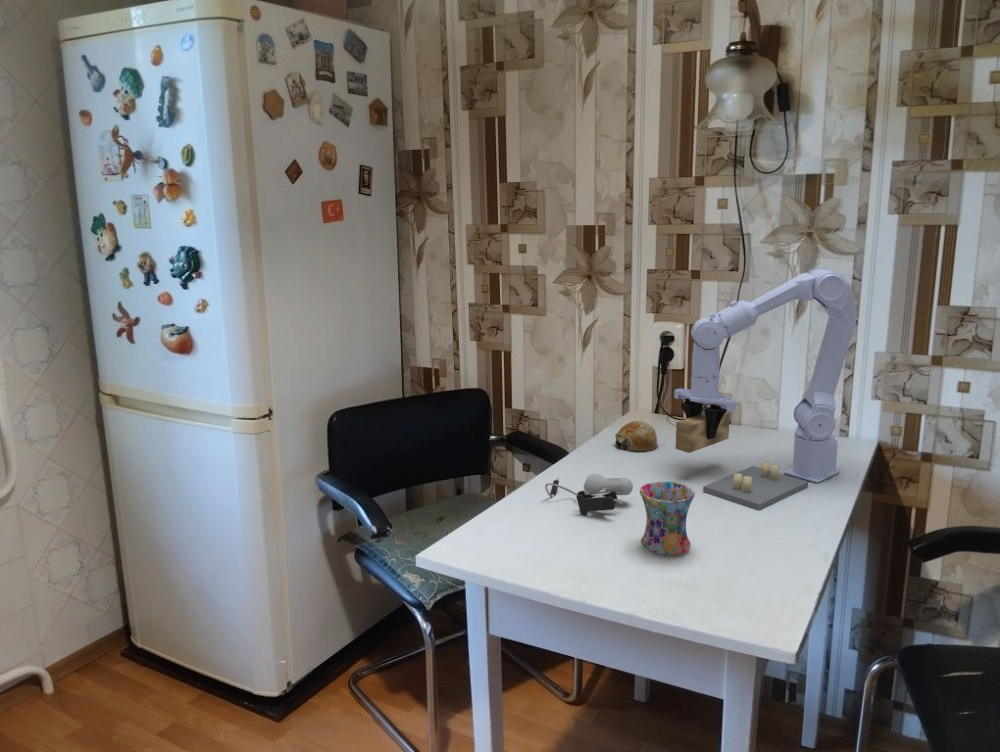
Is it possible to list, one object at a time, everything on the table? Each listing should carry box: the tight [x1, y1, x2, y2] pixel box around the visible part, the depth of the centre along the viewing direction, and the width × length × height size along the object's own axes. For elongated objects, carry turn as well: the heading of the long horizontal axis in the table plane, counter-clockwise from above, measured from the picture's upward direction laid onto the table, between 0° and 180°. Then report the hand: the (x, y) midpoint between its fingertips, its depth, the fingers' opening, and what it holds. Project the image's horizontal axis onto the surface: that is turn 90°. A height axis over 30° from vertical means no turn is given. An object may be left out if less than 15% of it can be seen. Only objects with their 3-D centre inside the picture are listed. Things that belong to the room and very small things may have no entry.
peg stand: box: [702, 461, 809, 511], centre depth 164 cm, size 18×13×4 cm
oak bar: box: [675, 411, 731, 454], centre depth 172 cm, size 14×4×6 cm, turn 130°
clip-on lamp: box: [544, 473, 634, 516], centre depth 159 cm, size 12×6×18 cm
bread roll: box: [614, 420, 659, 452], centre depth 192 cm, size 10×10×8 cm
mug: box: [639, 480, 696, 556], centre depth 139 cm, size 12×9×11 cm
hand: (702, 436), depth 173 cm, fingers closed on oak bar, 4 cm apart
